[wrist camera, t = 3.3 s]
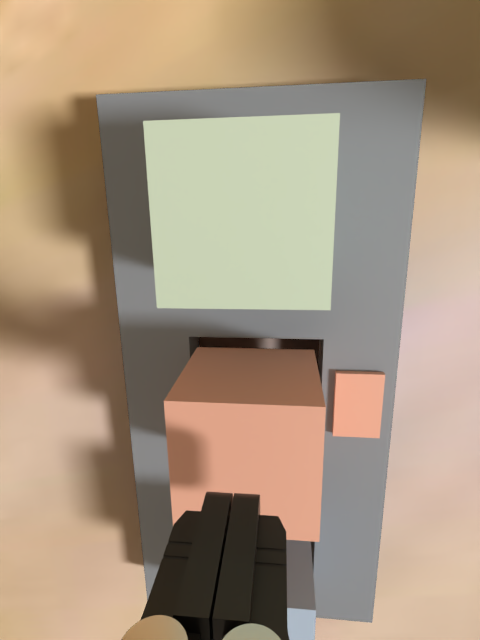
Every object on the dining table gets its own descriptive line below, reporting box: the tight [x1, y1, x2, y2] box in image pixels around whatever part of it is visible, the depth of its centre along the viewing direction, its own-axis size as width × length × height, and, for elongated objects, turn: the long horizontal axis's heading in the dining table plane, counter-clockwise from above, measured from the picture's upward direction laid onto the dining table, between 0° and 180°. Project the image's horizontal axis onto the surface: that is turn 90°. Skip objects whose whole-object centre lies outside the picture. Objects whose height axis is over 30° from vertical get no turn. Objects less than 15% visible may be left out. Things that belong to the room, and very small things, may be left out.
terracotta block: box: [164, 347, 326, 542], centre depth 15 cm, size 5×5×5 cm
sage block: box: [143, 113, 340, 310], centre depth 13 cm, size 5×5×5 cm
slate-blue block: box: [286, 540, 316, 640], centre depth 17 cm, size 5×5×5 cm
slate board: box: [96, 79, 426, 623], centre depth 19 cm, size 25×12×2 cm, turn 1°
